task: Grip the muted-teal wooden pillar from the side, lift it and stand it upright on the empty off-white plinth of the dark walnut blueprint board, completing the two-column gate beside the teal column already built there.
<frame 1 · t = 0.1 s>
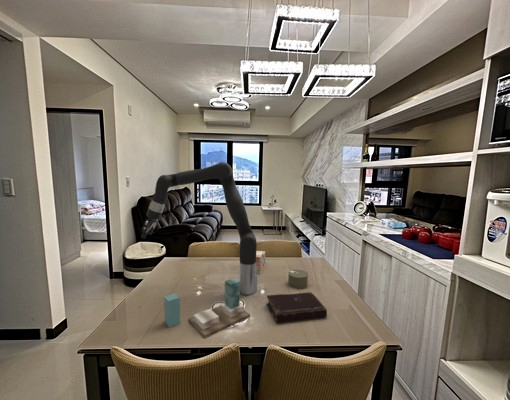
hand: (146, 236, 138), 31 cm above the table, tool tilted 20°, fingers open, 8 cm apart
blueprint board: (219, 318, 115), on the table
diary: (294, 311, 124), on the table
can: (297, 284, 153), on the table
stack of blocks: (258, 268, 177), on the table
teal pillar: (172, 322, 112), on the table
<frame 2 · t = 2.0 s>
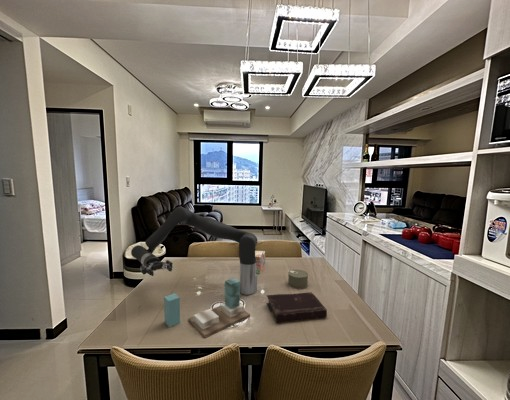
hand: (162, 271, 118), 20 cm above the table, tool horizontal, fingers open, 8 cm apart
nothing on the table moved.
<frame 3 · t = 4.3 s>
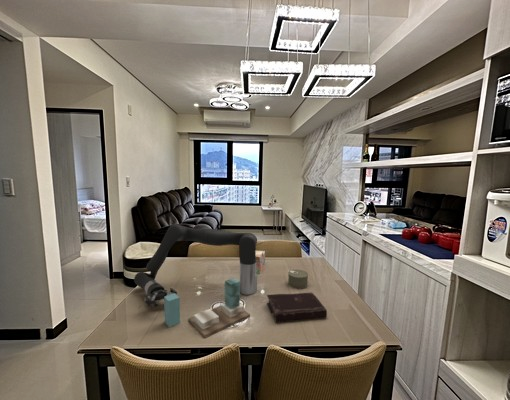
hand: (166, 302, 116), 6 cm above the table, tool horizontal, fingers open, 8 cm apart
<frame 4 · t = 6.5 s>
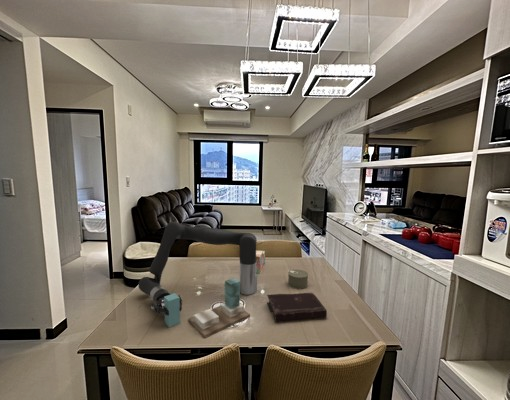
hand: (174, 311, 109), 7 cm above the table, tool horizontal, fingers closed on teal pillar, 5 cm apart
teal pillar: (172, 322, 112), on the table, touching gripper
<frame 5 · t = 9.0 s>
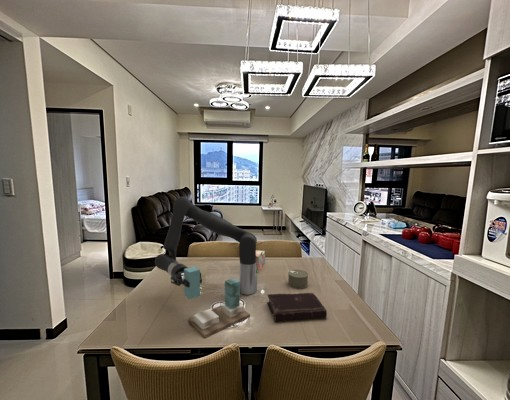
hand: (195, 283, 107), 20 cm above the table, tool horizontal, fingers closed on teal pillar, 5 cm apart
teal pillar: (192, 295, 110), point 13 cm above the table, touching gripper
when the fingers open (12 cm above the table, at t = 11.9 s): teal pillar drops 1 cm, resting on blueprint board.
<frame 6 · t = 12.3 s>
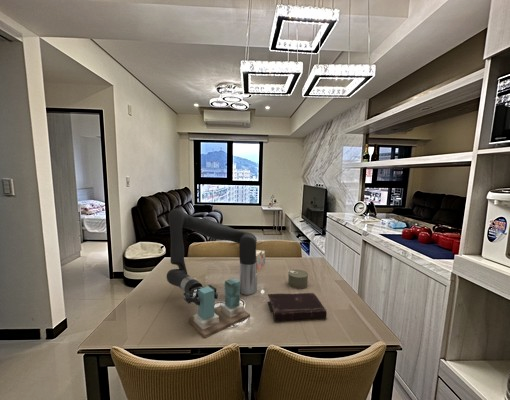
hand: (208, 300, 108), 12 cm above the table, tool horizontal, fingers open, 8 cm apart
teal pillar: (206, 315, 110), point 4 cm above the table, touching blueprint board
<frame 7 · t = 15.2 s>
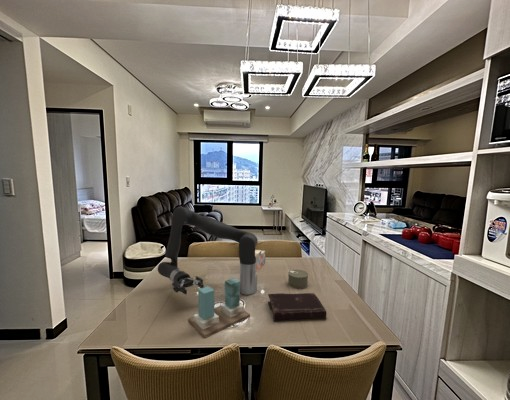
hand: (194, 289, 117), 12 cm above the table, tool horizontal, fingers open, 8 cm apart
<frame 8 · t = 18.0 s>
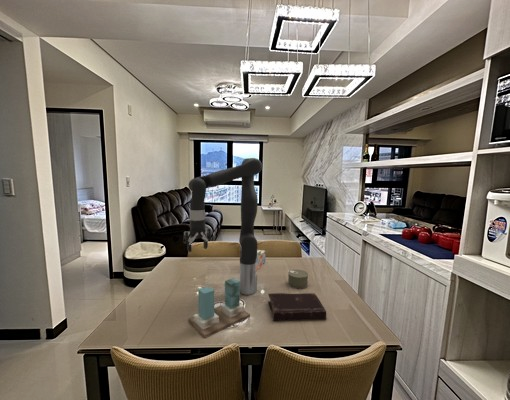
hand: (197, 250, 126), 28 cm above the table, tool pointing down, fingers open, 8 cm apart
at the end: teal pillar 0.0 cm from the target spot on the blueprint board, point 4.2 cm above the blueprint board's base; teal pillar tilted 0°; the gripper is holding nothing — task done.
